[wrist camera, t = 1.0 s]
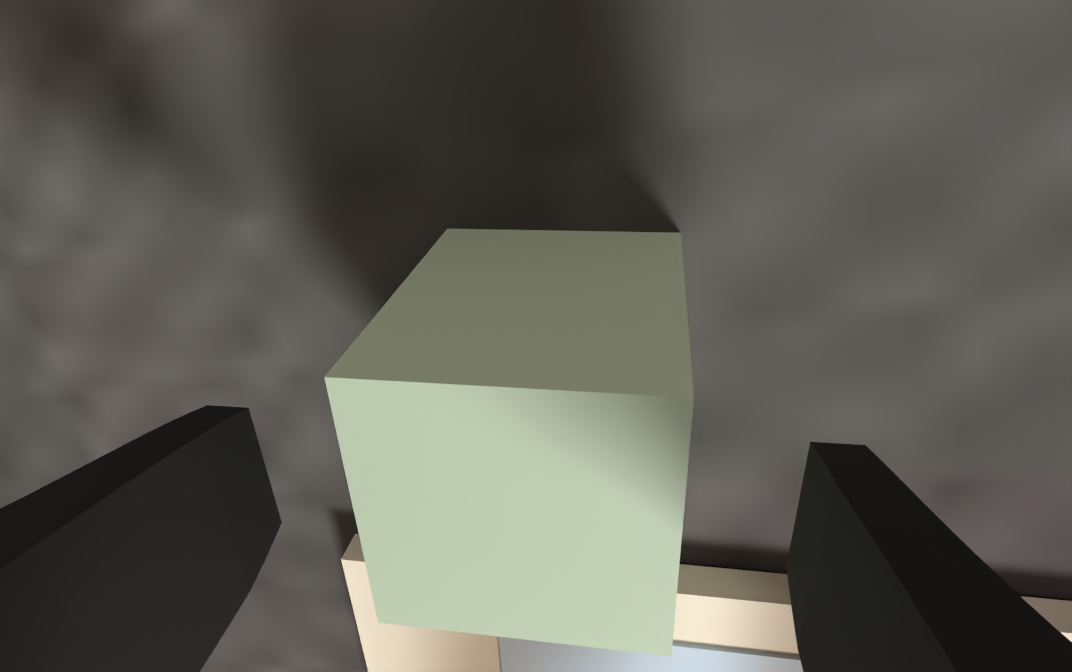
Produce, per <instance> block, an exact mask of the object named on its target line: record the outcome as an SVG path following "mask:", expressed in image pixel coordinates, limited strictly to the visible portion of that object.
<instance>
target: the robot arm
mask: <svg viewBox="0 0 1072 672" xmlns="http://www.w3.org/2000/svg"><path fill="white" fill-rule="evenodd" d="M281 523H282V522H281V519H280V515H279V512H278V508H277V505H276V501H275V498H274V494H273V491H272V488H271V484H270V481H269V477H268V474H267V470H266V467H265V463H264V460H263V456H262V453H261V450H260V446H259V443H258V439H257V436H256V432H255V429H254V425H253V422H252V418H251V415H250V412H249V408H242V407H225V406H209V405H207V406H205V407H202V408H200V409H198V410H195V411H193V412H190V413H188V414H186V415H184V416H181V417H179V418H177V419H175V420H173V421H171V422H169V423H167V424H165V425H163V426H161V427H159V428H156V429H154V430H152V431H150V432H148V433H146V434H145V435H143V436H141V437H139V438H137V439H135V440H133V441H131V442H129V443H127V444H125V445H123V446H121V447H119V448H117V449H115V450H114V451H112V452H110V453H108V454H106V455H104V456H102V457H100V458H98V459H96V460H94V461H92V462H90V463H89V464H87V465H85V466H83V467H81V468H79V469H77V470H75V471H73V472H71V473H69V474H67V475H65V476H64V477H62V478H60V479H58V480H56V481H54V482H52V483H50V484H48V485H46V486H44V487H42V488H40V489H39V490H37V491H35V492H33V493H31V494H29V495H27V496H25V497H23V498H21V499H19V500H17V501H15V502H13V503H11V504H9V505H7V506H5V507H3V508H1V509H0V672H200V670H201V669H202V667H203V666H204V664H205V662H206V661H207V659H208V658H209V656H210V655H211V653H212V651H213V650H214V648H215V647H216V645H217V644H218V642H219V640H220V639H221V637H222V636H223V634H224V632H225V631H226V629H227V628H228V626H229V624H230V623H231V621H232V620H233V618H234V616H235V615H236V613H237V612H238V610H239V608H240V607H241V605H242V603H243V602H244V600H245V598H246V597H247V595H248V593H249V592H250V590H251V588H252V586H253V584H254V582H255V580H256V578H257V576H258V573H259V571H260V569H261V567H262V565H263V563H264V561H265V559H266V557H267V555H268V552H269V550H270V548H271V545H272V543H273V541H274V539H275V536H276V534H277V532H278V530H279V527H280V525H281ZM786 568H787V576H788V584H789V591H790V599H791V607H792V614H793V621H794V628H795V634H796V641H797V648H798V652H799V657H800V661H801V665H802V669H803V672H1072V642H1071V641H1070V640H1069V639H1068V638H1066V637H1065V636H1064V635H1063V634H1062V633H1061V632H1059V631H1058V630H1057V629H1056V628H1055V627H1054V626H1053V625H1052V624H1050V623H1049V622H1048V621H1047V620H1046V619H1045V618H1044V617H1043V616H1042V615H1040V614H1039V613H1038V612H1037V611H1036V610H1035V609H1034V608H1033V607H1032V606H1031V605H1029V604H1028V603H1027V602H1026V601H1025V600H1024V599H1023V598H1022V597H1021V596H1020V595H1018V594H1017V593H1016V592H1015V591H1014V590H1013V589H1012V588H1011V587H1010V586H1009V585H1008V584H1007V583H1006V582H1004V581H1003V580H1002V579H1001V578H1000V577H999V576H998V575H997V574H996V573H995V572H994V571H993V570H992V569H991V568H990V567H989V566H988V565H986V564H985V563H984V562H983V561H982V560H981V559H980V558H979V557H978V556H977V555H976V554H975V553H974V552H973V551H972V550H971V549H970V548H969V547H968V546H967V545H966V544H965V543H964V542H963V541H962V540H960V539H959V538H958V537H957V536H956V535H955V534H954V533H953V532H952V531H951V530H950V529H949V528H948V527H947V526H946V525H945V524H944V523H943V522H942V521H941V520H940V519H939V518H938V517H937V516H936V515H935V514H934V513H933V512H932V511H931V510H930V509H929V508H928V507H927V506H926V505H925V504H924V503H923V502H922V501H921V500H920V499H919V498H918V497H917V496H916V495H915V494H914V493H913V492H912V491H911V490H910V489H909V488H908V487H907V486H906V485H905V484H904V483H903V482H902V481H901V480H900V479H899V478H898V477H897V476H896V475H895V474H894V473H893V472H892V471H891V470H890V469H889V468H888V467H887V466H886V465H885V464H884V463H883V462H882V461H881V460H880V459H879V458H878V457H877V456H876V455H875V454H874V453H873V452H872V451H871V450H870V449H869V448H868V447H867V446H866V445H852V444H836V443H819V442H810V447H809V452H808V457H807V462H806V468H805V473H804V478H803V483H802V488H801V494H800V499H799V504H798V509H797V514H796V520H795V525H794V530H793V535H792V540H791V546H790V551H789V556H788V561H787V566H786Z"/></svg>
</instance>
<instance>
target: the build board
mask: <svg viewBox="0 0 1072 672" xmlns="http://www.w3.org/2000/svg"><path fill="white" fill-rule="evenodd" d="M341 561H342V565H343V569H344V573H345V578H346V582H347V586H348V590H349V594H350V598H351V602H352V606H353V611H354V615H355V619H356V623H357V627H358V631H359V635H360V640H361V644H362V648H363V652H364V656H365V660H366V664H367V668H368V672H803V669H802V665H801V661H800V657H799V652H798V648H797V641H796V634H795V628H794V621H793V614H792V607H791V599H790V591H789V584H788V576H787V574H780V573H769V572H758V571H748V570H737V569H727V568H716V567H705V566H695V565H684V564H679V575H678V586H677V598H676V610H675V621H674V633H673V644H672V656H671V657H670V656H662V655H653V654H645V653H636V652H627V651H619V650H610V649H602V648H593V647H584V646H576V645H567V644H559V643H550V642H541V641H533V640H524V639H516V638H507V637H498V636H490V635H481V634H472V633H464V632H455V631H447V630H438V629H429V628H421V627H412V626H404V625H395V624H386V623H378V619H377V615H376V610H375V606H374V601H373V597H372V592H371V587H370V583H369V578H368V574H367V569H366V565H365V560H364V555H363V551H362V546H361V542H360V537H359V534H355V535H354V537H353V538H352V540H351V542H350V544H349V546H348V548H347V550H346V551H345V553H344V555H343V557H342V559H341ZM1021 597H1022V598H1023V599H1024V600H1025V601H1026V602H1027V603H1028V604H1029V605H1031V606H1032V607H1033V608H1034V609H1035V610H1036V611H1037V612H1038V613H1039V614H1040V615H1042V616H1043V617H1044V618H1045V619H1046V620H1047V621H1048V622H1049V623H1050V624H1052V625H1053V626H1054V627H1055V628H1056V629H1057V630H1058V631H1059V632H1061V633H1062V634H1063V635H1064V636H1065V637H1066V638H1068V639H1069V640H1070V641H1071V642H1072V601H1066V600H1055V599H1045V598H1034V597H1024V596H1021Z"/></svg>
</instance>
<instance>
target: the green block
mask: <svg viewBox="0 0 1072 672" xmlns="http://www.w3.org/2000/svg"><path fill="white" fill-rule="evenodd" d="M325 382H326V386H327V391H328V396H329V400H330V405H331V409H332V414H333V418H334V423H335V428H336V432H337V437H338V441H339V446H340V450H341V455H342V460H343V464H344V469H345V473H346V478H347V482H348V487H349V491H350V496H351V501H352V505H353V510H354V514H355V519H356V523H357V528H358V533H359V537H360V542H361V546H362V551H363V555H364V560H365V565H366V569H367V574H368V578H369V583H370V587H371V592H372V597H373V601H374V606H375V610H376V615H377V619H378V623H386V624H395V625H404V626H412V627H421V628H429V629H438V630H447V631H455V632H464V633H472V634H481V635H490V636H498V637H507V638H516V639H524V640H533V641H541V642H550V643H559V644H567V645H576V646H584V647H593V648H602V649H610V650H619V651H627V652H636V653H645V654H653V655H662V656H670V657H671V656H672V644H673V633H674V621H675V610H676V598H677V586H678V575H679V563H680V552H681V540H682V529H683V517H684V506H685V494H686V483H687V471H688V460H689V448H690V437H691V425H692V414H693V402H694V393H693V380H692V368H691V355H690V343H689V330H688V318H687V305H686V293H685V280H684V268H683V255H682V243H681V233H669V232H612V231H554V230H496V229H447V230H446V231H445V232H444V233H443V234H442V236H441V237H440V238H439V239H438V241H437V242H436V243H435V244H434V245H433V247H432V248H431V249H430V250H429V251H428V253H427V254H426V255H425V256H424V257H423V259H422V260H421V261H420V262H419V263H418V265H417V266H416V267H415V268H414V270H413V271H412V272H411V273H410V274H409V276H408V277H407V278H406V279H405V280H404V282H403V283H402V284H401V285H400V286H399V288H398V289H397V290H396V291H395V293H394V294H393V295H392V296H391V297H390V299H389V300H388V301H387V302H386V303H385V305H384V306H383V307H382V308H381V309H380V311H379V312H378V313H377V314H376V315H375V317H374V318H373V319H372V320H371V322H370V323H369V324H368V325H367V326H366V328H365V329H364V330H363V331H362V332H361V334H360V335H359V336H358V337H357V338H356V340H355V341H354V342H353V343H352V344H351V346H350V347H349V348H348V349H347V351H346V352H345V353H344V354H343V355H342V357H341V358H340V359H339V360H338V361H337V363H336V364H335V365H334V366H333V367H332V369H331V370H330V371H329V372H328V374H327V375H326V376H325Z"/></svg>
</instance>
